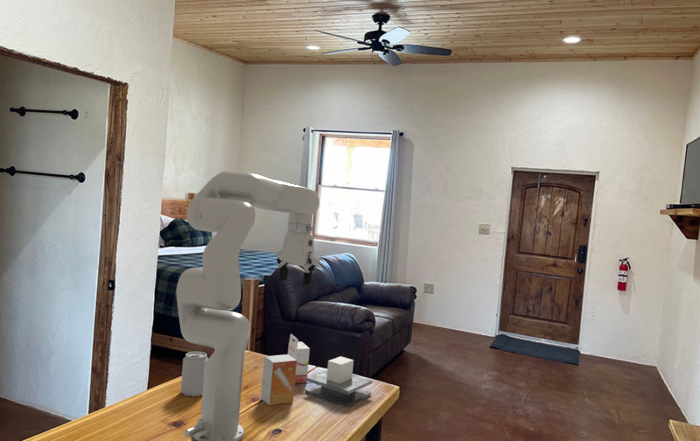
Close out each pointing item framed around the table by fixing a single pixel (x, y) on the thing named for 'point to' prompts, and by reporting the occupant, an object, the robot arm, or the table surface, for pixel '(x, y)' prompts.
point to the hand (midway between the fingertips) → (294, 282)
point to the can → (193, 373)
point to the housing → (340, 369)
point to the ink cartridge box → (299, 358)
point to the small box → (278, 379)
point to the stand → (338, 389)
